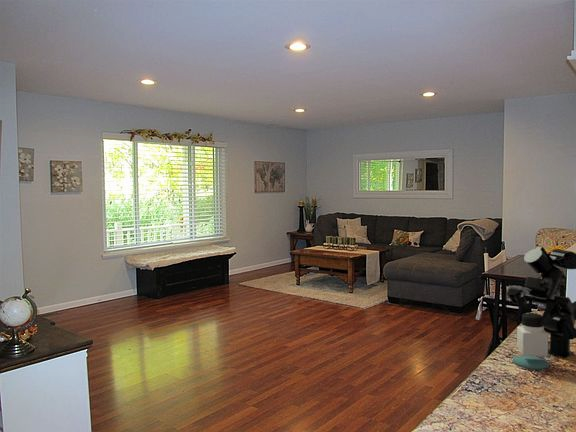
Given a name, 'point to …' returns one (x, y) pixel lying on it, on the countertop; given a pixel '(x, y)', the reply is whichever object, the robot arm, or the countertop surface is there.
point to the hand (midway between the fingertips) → (529, 323)
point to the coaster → (530, 362)
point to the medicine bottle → (532, 336)
